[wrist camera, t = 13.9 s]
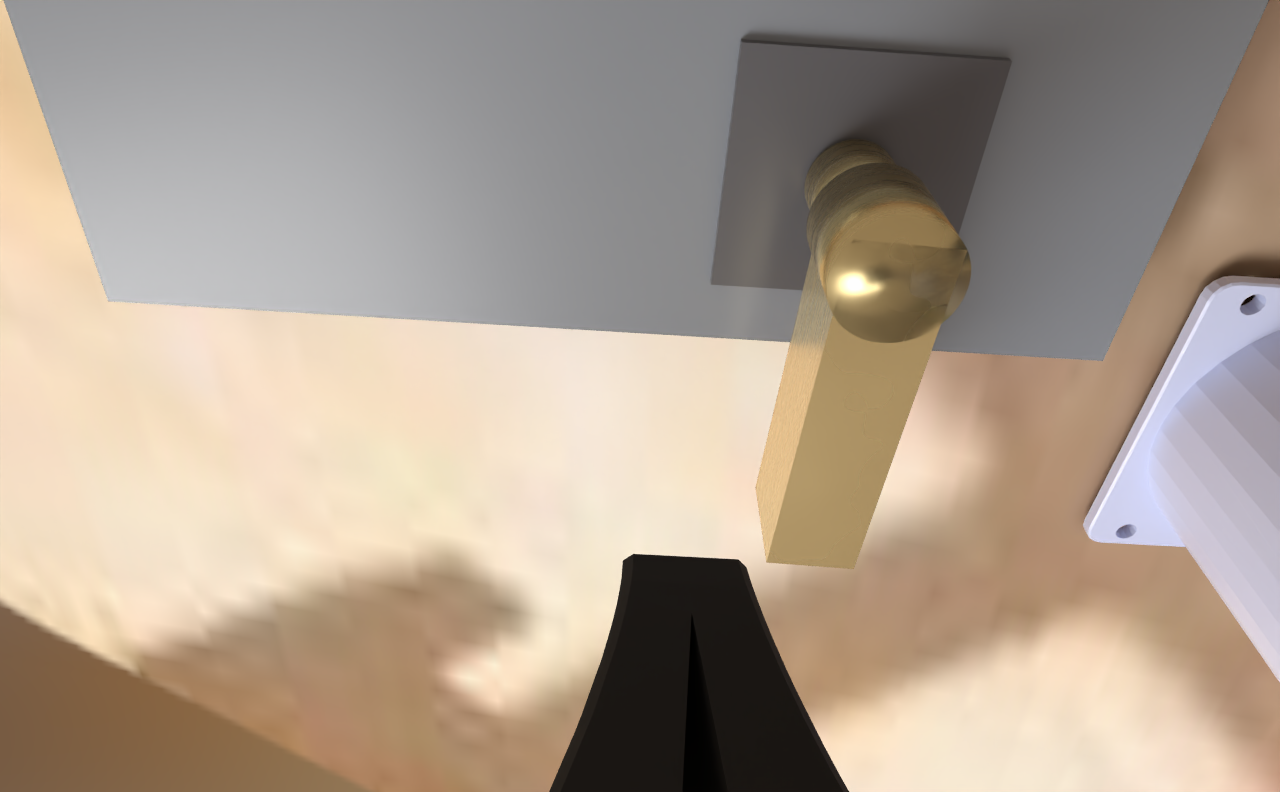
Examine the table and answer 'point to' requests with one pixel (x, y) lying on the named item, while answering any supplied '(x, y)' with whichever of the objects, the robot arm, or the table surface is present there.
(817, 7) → the case
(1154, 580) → the table surface
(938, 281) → the key
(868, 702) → the table surface
